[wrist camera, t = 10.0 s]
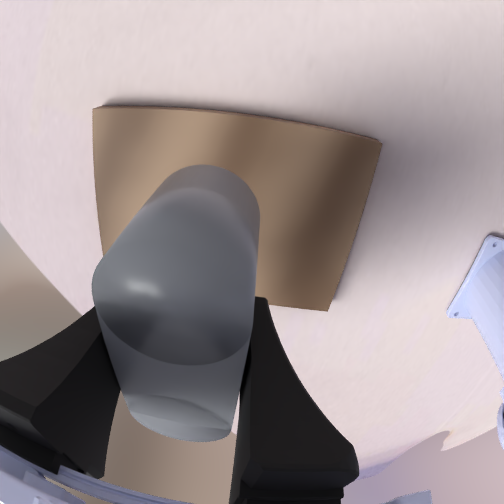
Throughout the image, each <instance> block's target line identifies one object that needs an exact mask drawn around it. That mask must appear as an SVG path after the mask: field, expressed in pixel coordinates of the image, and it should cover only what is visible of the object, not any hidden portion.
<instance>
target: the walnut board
mask: <svg viewBox="0 0 504 504" xmlns="http://www.w3.org/2000/svg"><path fill="white" fill-rule="evenodd" d="M381 146H382V143H381V142H379V141H378V140H377V139H373V138H369V137H365V136H361V135H357V134H353V133H349V132H345V131H340V130H336V129H331V128H327V127H322V126H317V125H312V124H307V123H301V122H296V121H290V120H284V119H278V118H272V117H265V116H258V115H251V114H243V113H235V112H226V111H216V110H205V109H193V108H177V107H155V106H100V107H97V108H94V109H93V160H94V177H95V191H96V202H97V212H98V221H99V229H100V237H101V244H102V251H103V257H104V255H105V254H106V252H107V251H108V250H109V248H110V247H111V246H112V244H113V243H114V242H115V240H116V239H117V238H118V237H119V235H120V234H121V233H122V231H123V230H124V229H125V228H126V226H127V225H128V224H129V222H130V221H131V220H132V219H133V217H134V216H135V215H136V214H137V212H138V211H139V210H140V209H141V207H142V206H143V205H144V204H145V203H146V201H147V200H148V199H149V198H150V197H151V195H152V194H153V193H154V192H155V191H156V190H157V188H158V187H159V186H160V185H161V184H162V183H163V181H164V180H165V179H166V178H167V177H168V176H170V175H171V174H172V173H174V172H176V171H178V170H179V169H182V168H185V167H188V166H192V165H212V166H217V167H221V168H224V169H226V170H228V171H230V172H232V173H234V174H235V175H237V176H238V177H239V178H241V179H242V180H243V181H244V182H245V183H246V184H247V185H248V186H249V188H250V189H251V190H252V192H253V193H254V195H255V197H256V199H257V202H258V205H259V210H260V231H259V245H258V260H257V274H256V288H255V296H257V297H265V298H266V299H267V300H268V305H276V306H284V307H292V308H301V309H310V310H319V311H328V309H329V307H330V304H331V302H332V299H333V296H334V294H335V291H336V289H337V286H338V283H339V280H340V278H341V275H342V272H343V269H344V267H345V264H346V261H347V258H348V255H349V252H350V250H351V247H352V244H353V241H354V238H355V235H356V232H357V229H358V226H359V222H360V219H361V216H362V213H363V210H364V206H365V203H366V200H367V197H368V193H369V190H370V186H371V183H372V180H373V176H374V172H375V169H376V165H377V162H378V158H379V154H380V150H381Z"/></svg>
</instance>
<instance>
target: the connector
mask: <svg viewBox="0 0 504 504" xmlns="http://www.w3.org/2000/svg"><path fill="white" fill-rule="evenodd" d="M259 231H260V210H259V205H258V202H257V199H256V197H255V195H254V193H253V192H252V190H251V189H250V188H249V186H248V185H247V184H246V183H245V182H244V181H243V180H242V179H241V178H239V177H238V176H237V175H235V174H234V173H232V172H230V171H228V170H226V169H224V168H221V167H217V166H212V165H192V166H188V167H185V168H182V169H179V170H178V171H176V172H174V173H172V174H171V175H170V176H168V177H167V178H166V179H165V180H164V181H163V183H162V184H161V185H160V186H159V187H158V188H157V190H156V191H155V192H154V193H153V194H152V195H151V197H150V198H149V199H148V200H147V201H146V203H145V204H144V205H143V206H142V207H141V209H140V210H139V211H138V212H137V214H136V215H135V216H134V217H133V219H132V220H131V221H130V222H129V224H128V225H127V226H126V228H125V229H124V230H123V231H122V233H121V234H120V235H119V237H118V238H117V239H116V240H115V242H114V243H113V244H112V246H111V247H110V248H109V250H108V251H107V252H106V254H105V255H104V257H103V258H102V259H101V261H100V262H99V264H98V265H97V267H96V269H95V272H94V275H93V279H92V295H93V300H94V304H95V308H96V312H97V316H98V320H99V323H100V327H101V330H102V334H103V337H104V340H105V344H106V347H107V350H108V353H109V356H110V359H111V362H112V365H113V368H114V371H115V374H116V377H117V380H118V383H119V385H120V388H121V391H122V393H123V396H124V398H125V401H126V404H127V406H128V409H129V411H130V413H131V415H132V416H133V417H134V418H135V419H136V420H137V421H138V422H139V423H141V424H142V425H144V426H145V427H147V428H149V429H151V430H152V431H155V432H157V433H159V434H162V435H165V436H168V437H171V438H175V439H179V440H185V441H193V442H210V441H216V440H219V439H222V438H224V437H226V436H227V435H229V433H230V432H231V428H232V424H233V419H234V414H235V410H236V405H237V400H238V395H239V391H240V386H241V381H242V376H243V371H244V367H245V362H246V357H247V352H248V347H249V342H250V337H251V332H252V327H253V316H254V302H255V288H256V274H257V260H258V245H259Z"/></svg>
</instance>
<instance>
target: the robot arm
mask: <svg viewBox="0 0 504 504" xmlns="http://www.w3.org/2000/svg"><path fill="white" fill-rule="evenodd" d="M493 243H494V244H493ZM446 314H447V316H448V317H449V318H465V319H473V321H474V323H475V325H476V326H477V328H478V330H479V332H480V334H481V336H482V338H483V339H484V341H485V343H486V345H487V347H488V349H489V351H490V353H491V355H492V357H493V359H494V361H495V363H496V365H497V367H498V369H499V372H500V374H501V376H502V378H503V380H504V239H502V238H499V237H496V236H492V235H490V236H488V237H487V238H486V239H485V241H484V243H483V245H482V247H481V249H480V251H479V253H478V255H477V257H476V259H475V261H474V263H473V265H472V267H471V269H470V271H469V273H468V275H467V277H466V279H465V280H464V282H463V284H462V286H461V288H460V289H459V291H458V293H457V295H456V296H455V298H454V300H453V302H452V303H451V305H450V307H449V308H448V310H447V312H446ZM120 390H121V388H120V385H119V383H118V380H117V377H116V374H115V371H114V368H113V365H112V362H111V359H110V356H109V353H108V350H107V347H106V344H105V340H104V337H103V334H102V330H101V327H100V323H99V320H98V316H97V312H96V308H95V306H94V307H93V308H92V309H91V310H89V311H88V312H87V313H86V314H84V315H83V316H82V317H81V318H79V319H78V320H77V321H76V322H74V323H73V324H71V325H70V326H68V327H67V328H66V329H64V330H63V331H61V332H60V333H58V334H56V335H55V336H53V337H52V338H50V339H48V340H46V341H44V342H43V343H41V344H39V345H37V346H35V347H34V348H32V349H30V350H28V351H26V352H23V353H21V354H19V355H16V356H14V357H12V358H9V359H7V360H4V361H1V362H0V503H1V504H86V503H85V501H84V500H82V499H80V498H78V497H76V496H74V495H72V494H70V493H69V492H67V491H66V490H65V489H63V488H61V487H59V486H57V485H55V484H53V483H51V482H49V481H47V480H46V479H45V477H44V476H46V477H48V478H50V479H52V480H54V481H56V482H59V483H61V484H63V485H65V486H68V487H70V488H72V489H75V490H77V491H80V492H82V493H85V494H88V495H90V496H93V497H96V498H98V499H101V500H104V501H107V502H110V503H113V504H192V503H187V502H181V501H176V500H171V499H166V498H161V497H157V496H153V495H149V494H145V493H141V492H137V491H133V490H130V489H126V488H123V487H120V486H116V485H113V484H110V483H107V482H104V481H101V480H98V479H99V478H102V477H103V476H104V471H105V461H106V454H107V447H108V442H109V436H110V431H111V426H112V421H113V417H114V412H115V408H116V405H117V401H118V397H119V393H120ZM500 395H501V397H502V399H503V403H502V404H501V406H500V408H499V411H498V416H497V430H498V436H499V440H500V443H501V446H502V448H503V450H504V387H503V389H502V390H501V391H500ZM43 475H44V476H43ZM358 476H359V465H358V461H357V457H356V453H355V450H354V447H353V445H352V444H351V443H350V442H349V441H348V440H347V439H346V438H345V437H344V436H343V435H342V434H341V433H340V432H339V431H338V430H337V429H336V428H335V427H334V426H333V425H332V423H331V422H330V421H329V420H328V419H327V418H326V416H325V415H324V414H323V413H322V411H321V410H320V409H319V407H318V406H317V405H316V403H315V402H314V401H313V399H312V398H311V397H310V395H309V394H308V392H307V391H306V389H305V388H304V386H303V384H302V383H301V381H300V380H299V378H298V376H297V374H296V373H295V371H294V369H293V367H292V365H291V363H290V361H289V359H288V357H287V355H286V353H285V351H284V349H283V346H282V344H281V342H280V339H279V337H278V334H277V332H276V329H275V326H274V323H273V320H272V317H271V313H270V309H269V305H268V300H267V299H266V298H265V297H257V296H255V302H254V316H253V327H252V332H251V337H250V342H249V347H248V352H247V357H246V362H245V367H244V371H243V376H242V381H241V386H240V407H239V421H238V430H237V440H236V448H235V458H234V466H233V474H232V482H231V490H230V498H229V504H341V498H343V497H344V492H343V487H345V486H346V485H348V484H349V483H351V482H353V481H354V480H355V479H356V478H357V477H358ZM381 504H432V498H431V492H430V490H425V491H421V492H417V493H412V494H408V495H404V496H400V497H397V498H394V499H392V500H390V501H389V502H387V503H381Z"/></svg>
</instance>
